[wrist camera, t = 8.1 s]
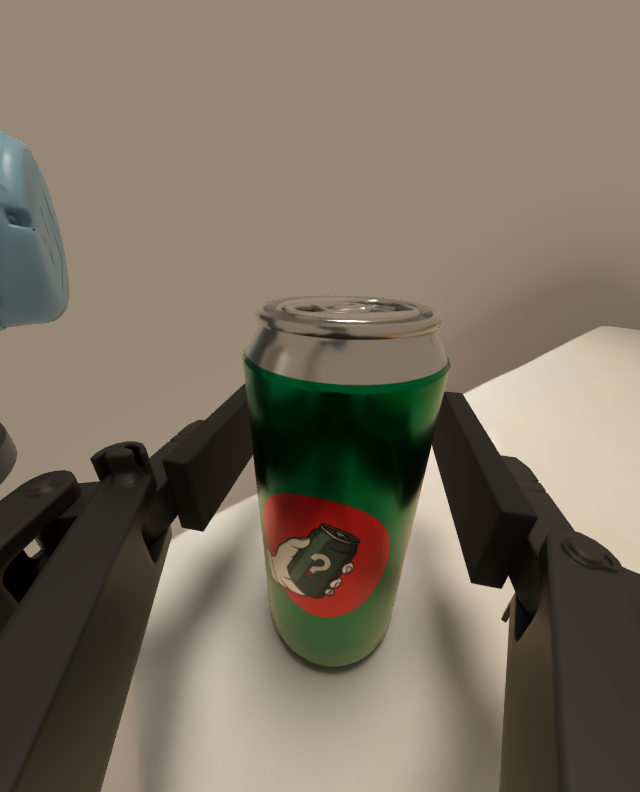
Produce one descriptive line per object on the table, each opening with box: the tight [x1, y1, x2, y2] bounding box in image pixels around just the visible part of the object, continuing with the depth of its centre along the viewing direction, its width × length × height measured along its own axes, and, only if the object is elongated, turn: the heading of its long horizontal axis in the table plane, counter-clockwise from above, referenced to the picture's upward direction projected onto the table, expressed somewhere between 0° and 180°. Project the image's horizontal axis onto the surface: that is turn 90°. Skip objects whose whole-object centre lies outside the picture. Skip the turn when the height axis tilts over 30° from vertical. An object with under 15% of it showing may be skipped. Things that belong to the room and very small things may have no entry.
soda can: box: [243, 296, 450, 667], centre depth 9 cm, size 5×5×12 cm
